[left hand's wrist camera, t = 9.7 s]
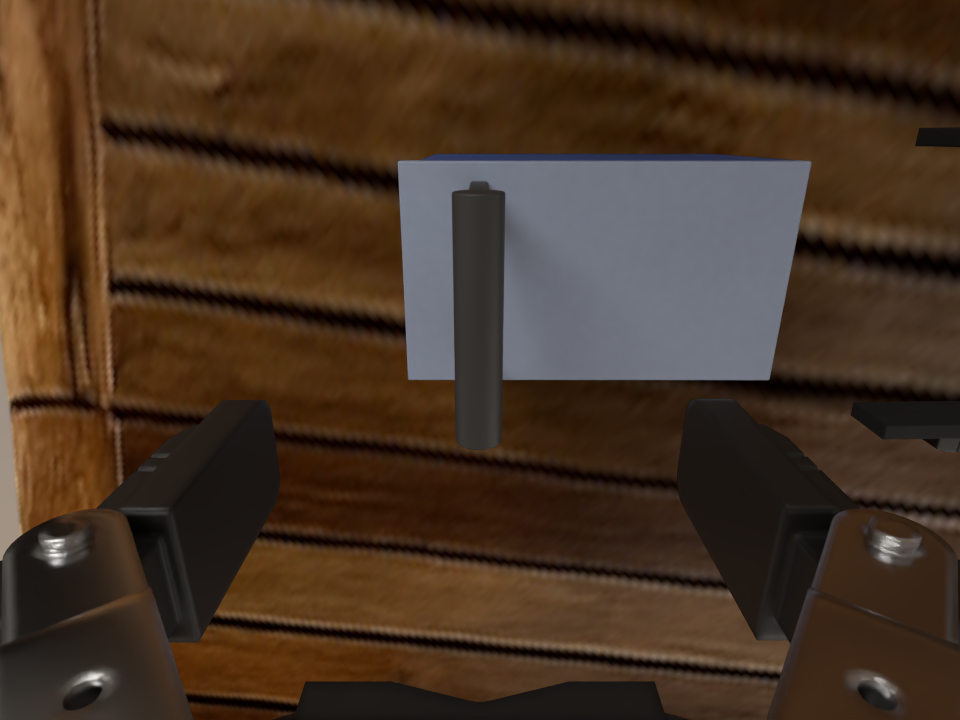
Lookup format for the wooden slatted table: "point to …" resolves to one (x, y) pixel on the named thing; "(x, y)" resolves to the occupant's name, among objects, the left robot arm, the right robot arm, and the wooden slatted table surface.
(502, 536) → the wooden slatted table surface
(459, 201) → the grey lid
